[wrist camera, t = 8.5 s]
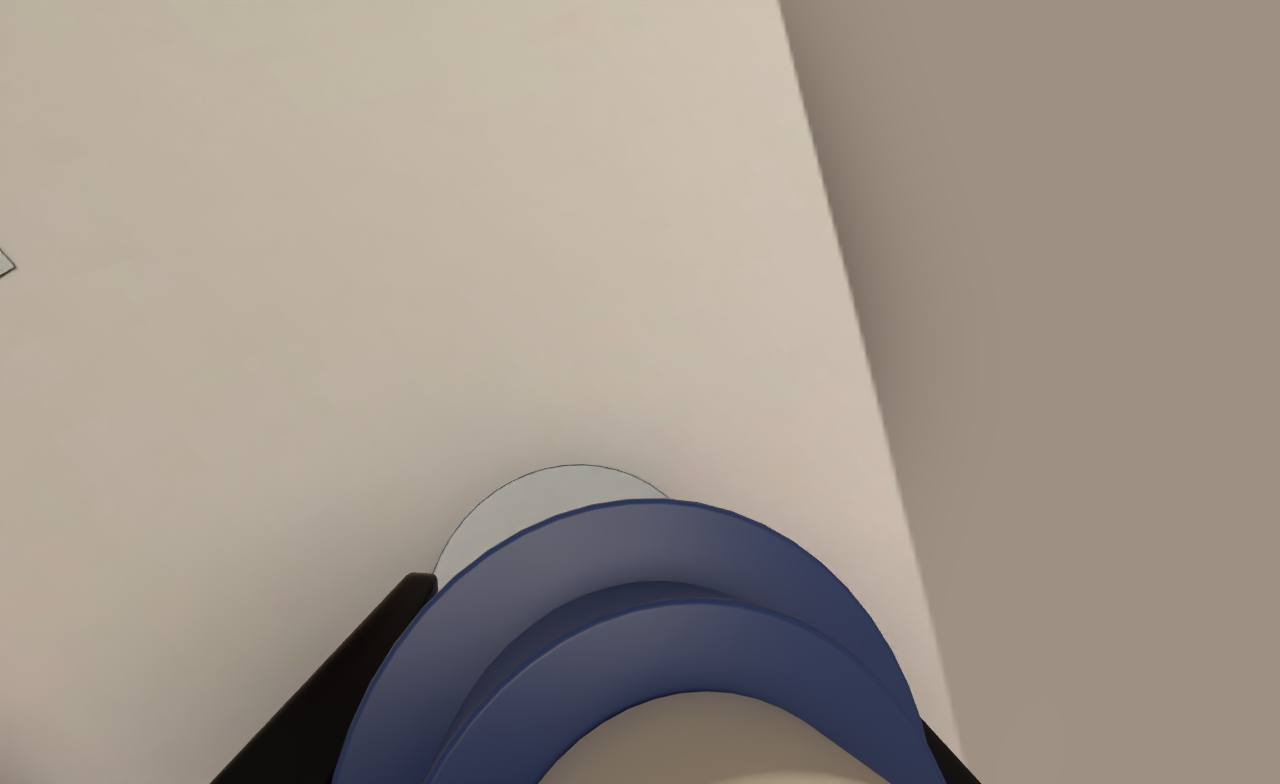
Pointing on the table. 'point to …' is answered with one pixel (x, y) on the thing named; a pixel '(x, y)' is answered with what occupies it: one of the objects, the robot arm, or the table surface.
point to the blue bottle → (640, 664)
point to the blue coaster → (534, 508)
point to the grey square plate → (4, 264)
